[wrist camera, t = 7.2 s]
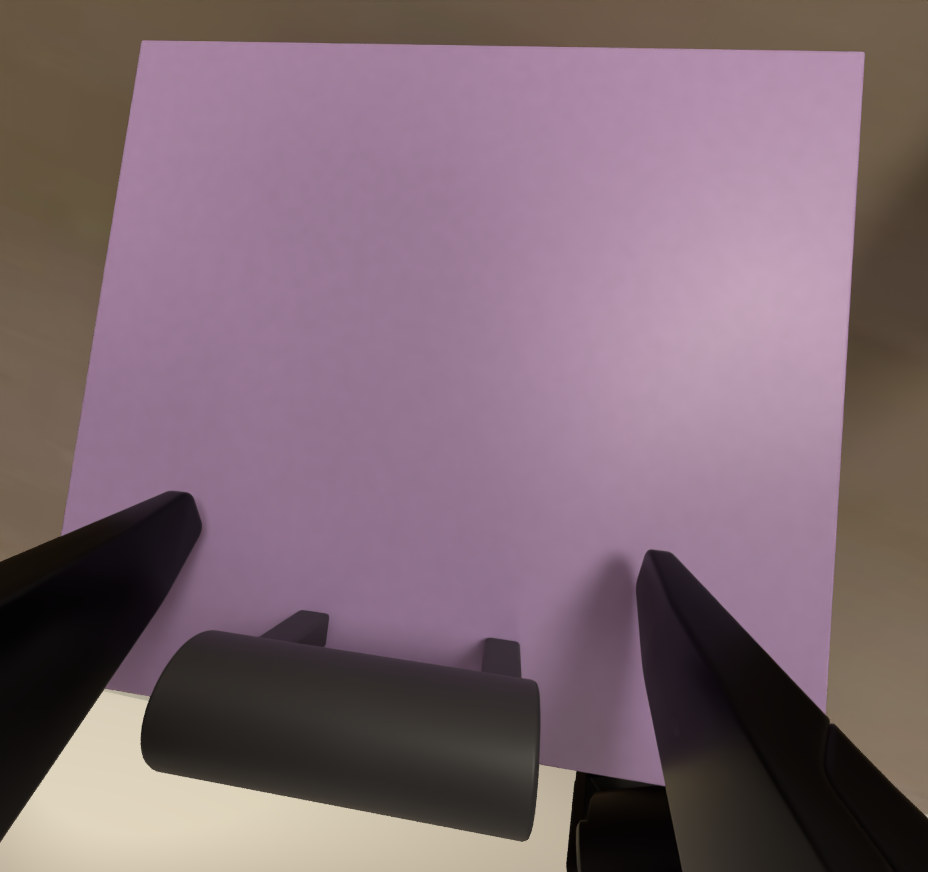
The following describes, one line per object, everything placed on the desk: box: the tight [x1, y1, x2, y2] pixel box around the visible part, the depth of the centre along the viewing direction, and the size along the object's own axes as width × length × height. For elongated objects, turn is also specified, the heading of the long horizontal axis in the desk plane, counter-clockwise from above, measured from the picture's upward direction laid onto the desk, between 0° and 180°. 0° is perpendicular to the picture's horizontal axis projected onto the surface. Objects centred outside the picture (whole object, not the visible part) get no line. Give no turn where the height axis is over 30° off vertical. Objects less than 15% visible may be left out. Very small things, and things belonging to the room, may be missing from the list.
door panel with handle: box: [61, 40, 865, 842], centre depth 8 cm, size 15×16×5 cm
